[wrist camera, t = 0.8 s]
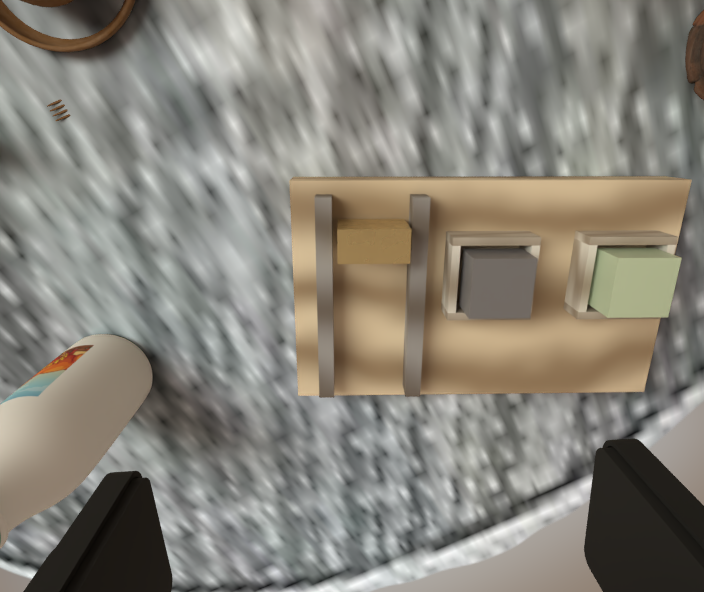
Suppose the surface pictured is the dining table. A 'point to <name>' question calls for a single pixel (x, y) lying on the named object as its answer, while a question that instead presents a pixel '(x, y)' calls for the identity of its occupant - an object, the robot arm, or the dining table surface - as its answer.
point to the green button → (633, 282)
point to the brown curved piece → (696, 55)
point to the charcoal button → (497, 283)
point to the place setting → (25, 33)
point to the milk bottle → (66, 423)
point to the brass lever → (373, 241)
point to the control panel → (445, 278)
